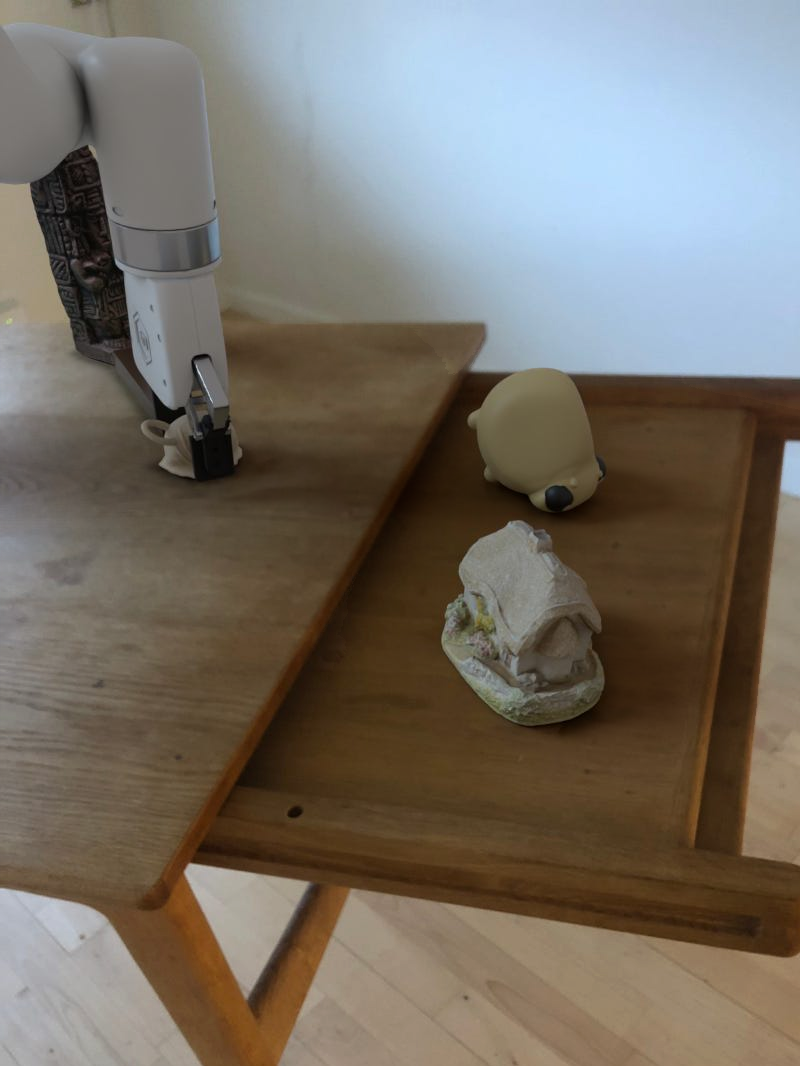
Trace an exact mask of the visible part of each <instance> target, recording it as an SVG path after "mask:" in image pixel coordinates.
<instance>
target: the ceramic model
mask: <svg viewBox="0 0 800 1066" xmlns="http://www.w3.org/2000/svg"><path fill="white" fill-rule="evenodd" d="M458 575H459V578H460V580H461V582H462V585H463V586H464V593H460V594H458V596H457V598H455V599H454V601H453V602H451V603H448V605H447V606H446V610H445V613H444V619H445V624H444V628H443V630H442V634H441V646H442V650H443V651H444V653H445V655H446V656H447V657H448V659H449V660H450V661H451V663H452V664H453V666H454V667H455V668H456V670H457V671H458V673H459V674H460V675H461V677H462V678H463V679H464V681H465V682H466V683H467V685H469V686H470V688H471V689H472V690H473V691H474V692H475V693H476V694H477V696H478V697H479V698H480V699H481V700H482V701H483V702H485V703H486V704H487V705H488V706H489V708H491V709H492V710H493V711H494V712H495V713H496V714H498V715H499V716H502V717H503V718H504V719H506V720H509V721H510V722H512V723H515V724H518V725H523V726H529V727H534V726H543V725H548V724H555V723H560V722H564V721H569V720H572V719H574V718H576V717H579V716H580V715H581V714H584V713H586V712H588V711H589V710H590V709H592V708H594V706H595V705H596V704H597V703H598V701H599V700H600V698H601V696H602V692H603V691H604V686H605V681H606V679H605V674H604V667H603V665H602V662H601V660H600V658H599V655H598V653H597V652H596V651H595V650H593V640H592V635H593V633H596V634H600V633H601V632H602V629H603V627H602V617H601V615H600V612H599V611H598V609H597V607H596V606H595V604H594V602H593V601H592V598H591V596H590V595H589V592H588V586H587V582H586V581H585V580H584V579H582V577H581V576H580V575H579V574H578V573H577V572H576V571H575V570H573V569H572V568H570V567H569V566H567V565H565V564H564V563H563V562H562V561H561V558H559V557H558V555H557V554H556V553H555V552H554V551H553V540H552V538H551V535H550V534H548V533H547V532H546V530H545V528H542V529H541V528H540V529H534V528H533V527H532V526H531V525H530V524H529V523H527V522H525V521H523V520H522V519H519V520H518V519H517V520H510V521H508V523H507V524H506V525H505V526H504V527H502V528H501V529H499V530H497V531H495V532H493V533H490V534H488V535H485V536H483V537H480V538H479V539H478V540H477V541H476V542H474V544H472V545H471V547H470V548H468V550H467V553H466V554H465V556H464V557H463V558H462V561H461V562H460V563H459V567H458Z"/></svg>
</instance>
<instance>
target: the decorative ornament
mask: <svg viewBox="0 0 800 1066" xmlns="http://www.w3.org/2000/svg"><path fill="white" fill-rule="evenodd" d="M196 411H197V414H198V418H199V421H200V422H201V420H202V418H203V416H204V415H207V414H208V412H207V409H203V410H196ZM230 426H231V439H232V448H233V458H234V466H236V465H238V461H239V460H240V459H242V457H243V449H242V448H241V447H240V446H239V440H238V438H237V437H238V436H237V433H236V429H235V427H234V425H233V424H232V422H231V423H230ZM148 427H149V428H150V427H152V428H153V427H154V428H157V427H158V428H161V429H163V430H165V431H166V433H165V436H162V437H161V436H158V435H156V434H155V433H153V432H151V430H150V429H149V428H148ZM140 430H141V432H142V434H143V435H144V436H145V437H147V438H148V439H149V440H151V441H153V443H157V444H159V445H163V451H164V456H163V458H162V460H160V462H159V463H158V466H159V467H161V468H163V469H164V470H165V471H168V472H169V473H171V475H177V476H179V477H182V478H183V477H185V478H186V477H187V478H191V479H196V478H195V477H194V471H193V464H192V457H191V450H190V442H189V436H190V435H193V433H192V430H191V426H190V423H189V420H188V417H187V414H186V415H184V416H181V417H180V418H178V419H176V420H175V421H174V422H173V423H172V424H170V425H169V424H168V423H165V422H163V421H159V420H151V419H147V420H144V421H143V422H142V423H141V425H140Z"/></svg>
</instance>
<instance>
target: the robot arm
mask: <svg viewBox="0 0 800 1066" xmlns="http://www.w3.org/2000/svg"><path fill="white" fill-rule="evenodd" d="M205 90H206V88H205V82H204V75H203V69H202V65H201V63H200V61H199V59H198V57H197V56H196V54H195V53H194V52H193V51H192V50H191V49H190V48H188V47H187V46H186V45H184V44H182V43H180V42H176V41H173V40H169V39H164V38H157V37H148V36H118V37H116V36H115V37H102V36H98V35H92V34H87V33H83V32H78V31H74V30H70V29H67V28H62V27H59V26H54V25H50V24H45V23H39V22H29V21H21V22H14V23H10V24H6V25H4V26H3V25H2V24H1V23H0V184H5V185H13V186H18V185H26V184H30V183H31V182H34V181H36V180H39V179H41V178H43V177H44V176H46V175H47V174H49V173H50V172H51V171H52V170H53V169H54V168H55V167H56V166H57V165H58V164H59V163H60V162H61V161H62V160H63V159H64V158H65V157H66V156H67V155H68V154H69V153H70V152H72V151H74V150H77V149H79V148H81V147H83V146H86V145H88V146H89V147H90V146H91V147H92V148H93V149H94V150H95V153H96V160H97V162H98V166H99V171H100V177H101V183H102V189H103V195H104V200H105V206H106V212H107V218H108V223H109V229H110V235H111V241H112V247H113V252H114V257H115V263H116V265H117V266H118V268H120V269H121V270H123V271H124V283H125V292H126V301H127V309H128V317H129V325H130V333H131V341H132V349H133V356H134V360H135V363H136V365H137V368H138V369H139V371H140V372H141V374H142V375H143V377H144V378H145V380H146V381H147V383H148V384H149V385H150V387H151V393H152V399H153V405H154V411H155V417H156V420H159V421H163V422H165V423H168V424H169V425H170V424H172V423H173V422H174V421H175V420H176V419H178V418H180V417H181V416H184V415H186V414H187V417H188V420H189V423H190V426H191V430H192V433H193V435H190V436H189V442H190V450H191V457H192V464H193V471H194V477H195V478H194V479H195V480H196V481H197V482H198V483H204V482H208V481H213V480H217V479H222V478H226V477H230V476H233V475H234V474H235V471H236V468H235V465H234V458H233V448H232V439H231V426H230V423H231V424H232V420H231V415H230V401H229V399H228V396H229V393H230V392H229V390H230V389H229V388H230V387H229V386H230V385H229V371H228V360H227V352H226V345H225V338H224V331H223V324H222V317H221V311H220V306H219V305H220V304H219V298H218V294H217V289H216V283H215V277H214V274H213V271H215V270H216V269H217V268H219V267H220V266H221V264H222V262H223V259H222V257H223V256H222V251H221V250H222V248H221V239H220V238H221V237H220V229H219V218H218V210H217V209H218V207H217V199H216V191H215V180H214V172H213V171H214V170H213V163H212V152H211V143H210V130H209V121H208V110H207V100H206V99H207V98H206V91H205ZM198 391H201V393H202V395H197V396H196V395H195V396H192V392H198ZM202 407H206V410H207V412H208V414H207V415H204V416H203V418H202V420H201V422H200V421H199V418H198V414H197V411H198V410H197V408H202Z"/></svg>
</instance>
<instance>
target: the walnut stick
mask: <svg viewBox="0 0 800 1066" xmlns="http://www.w3.org/2000/svg"><path fill="white" fill-rule="evenodd" d="M112 352H113V357H114V362H115V364H114V367H115V372H116V374H117V375H118V377H120V379H121V381H122V382H123V383H124V384H125V386H126V388H127V389H128V390H129V392H130V393H131V394H132V396H133V397H134V399H135V400H136V401H137V402H138V405H140V407H141V408H142V410H143V411H144V412H145V414H146V415H147V416H148V418H149V420H156V417H155V411H154V405H153V399H152V393H151V387H150V385H149V384H148V383H147V381H146V380H145V378H144V377H143V375H142V374H141V372H140V371H139V369H138V368H137V365H136V363H135V360H134V356H133V349H132V348H126V349H120V350H114V351H112ZM156 429H157V430H158V431H159V433H160V434H161V435H162V437H164V436H165V433H166V431H165V430H163V429H161V428H158V427H156Z"/></svg>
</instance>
